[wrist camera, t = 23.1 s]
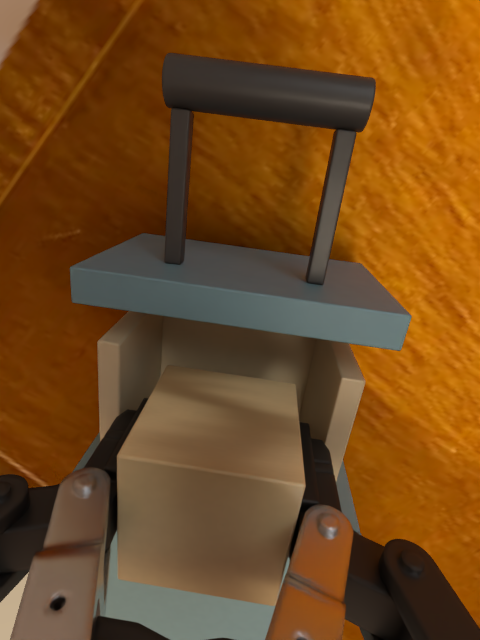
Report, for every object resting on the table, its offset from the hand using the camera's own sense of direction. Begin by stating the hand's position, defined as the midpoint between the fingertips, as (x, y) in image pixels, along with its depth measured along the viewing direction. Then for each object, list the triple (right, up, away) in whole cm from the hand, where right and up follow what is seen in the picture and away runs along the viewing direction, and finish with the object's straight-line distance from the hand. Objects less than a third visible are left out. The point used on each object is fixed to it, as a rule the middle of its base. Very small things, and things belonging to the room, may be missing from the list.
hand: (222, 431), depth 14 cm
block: (0, 0, 0) cm, 0 cm away
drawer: (+1, +5, +5) cm, 7 cm away
